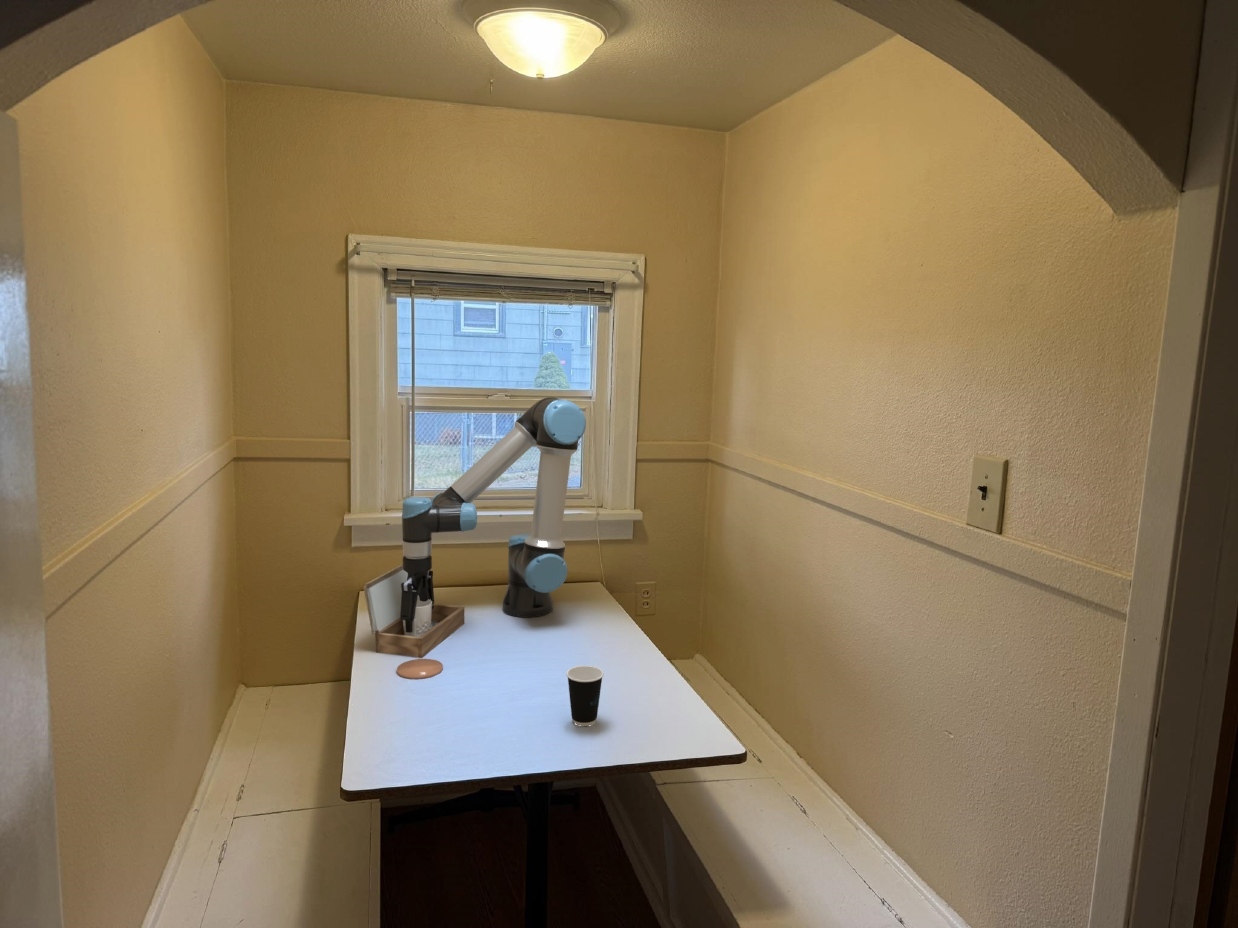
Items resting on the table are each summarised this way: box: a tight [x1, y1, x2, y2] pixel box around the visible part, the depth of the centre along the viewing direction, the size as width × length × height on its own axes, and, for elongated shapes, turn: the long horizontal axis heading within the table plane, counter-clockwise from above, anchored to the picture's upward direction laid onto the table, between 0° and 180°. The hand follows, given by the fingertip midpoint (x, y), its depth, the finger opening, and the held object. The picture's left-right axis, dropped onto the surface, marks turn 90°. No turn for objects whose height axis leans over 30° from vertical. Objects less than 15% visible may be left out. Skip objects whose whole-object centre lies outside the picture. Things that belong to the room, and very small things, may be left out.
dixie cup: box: [565, 665, 605, 727], centre depth 169 cm, size 8×8×11 cm
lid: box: [362, 563, 419, 635], centre depth 216 cm, size 13×26×1 cm
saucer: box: [396, 658, 444, 680], centre depth 194 cm, size 11×11×1 cm
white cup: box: [403, 598, 432, 637], centre depth 214 cm, size 8×8×10 cm
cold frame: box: [374, 603, 466, 659], centre depth 215 cm, size 13×26×6 cm, turn 167°
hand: (418, 637), depth 215 cm, fingers closed on white cup, 7 cm apart
